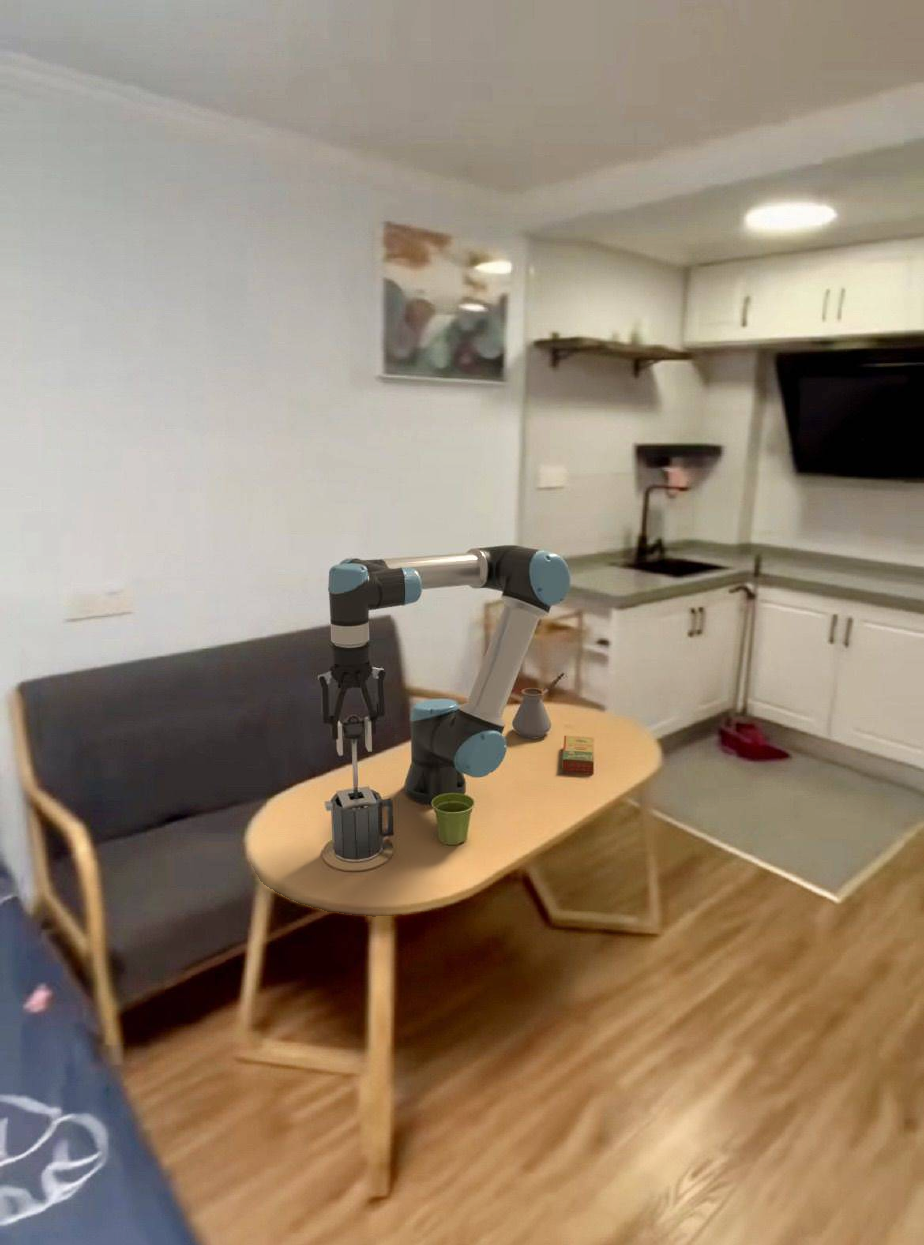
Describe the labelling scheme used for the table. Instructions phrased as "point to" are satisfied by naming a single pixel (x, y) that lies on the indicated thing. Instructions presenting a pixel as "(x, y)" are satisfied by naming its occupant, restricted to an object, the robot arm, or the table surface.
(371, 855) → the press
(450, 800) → the plant pot
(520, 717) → the coffee pot
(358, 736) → the plunger
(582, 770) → the carton
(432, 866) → the table surface
